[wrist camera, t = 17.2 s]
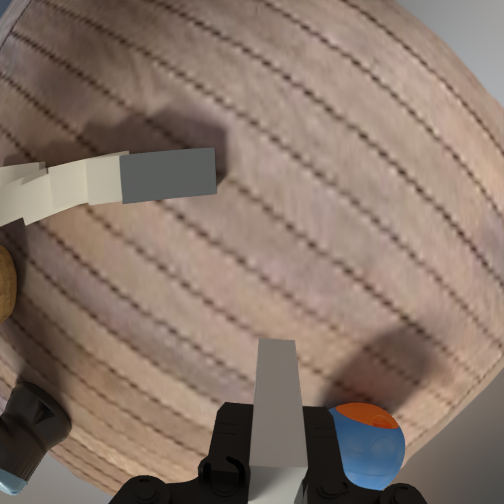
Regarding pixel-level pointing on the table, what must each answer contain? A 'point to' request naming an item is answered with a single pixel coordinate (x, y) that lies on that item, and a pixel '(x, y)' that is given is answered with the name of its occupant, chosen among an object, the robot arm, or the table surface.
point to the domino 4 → (71, 182)
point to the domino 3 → (36, 200)
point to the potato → (7, 284)
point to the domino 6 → (167, 174)
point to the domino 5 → (103, 180)
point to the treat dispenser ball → (368, 444)
